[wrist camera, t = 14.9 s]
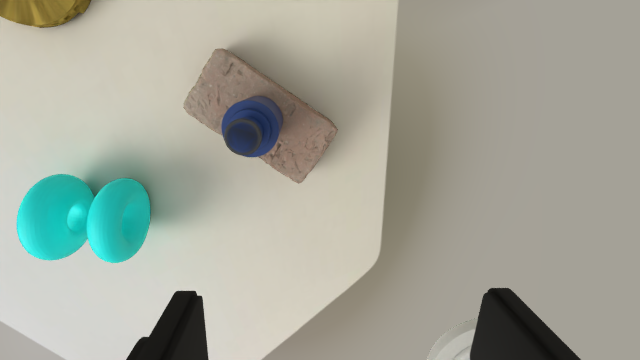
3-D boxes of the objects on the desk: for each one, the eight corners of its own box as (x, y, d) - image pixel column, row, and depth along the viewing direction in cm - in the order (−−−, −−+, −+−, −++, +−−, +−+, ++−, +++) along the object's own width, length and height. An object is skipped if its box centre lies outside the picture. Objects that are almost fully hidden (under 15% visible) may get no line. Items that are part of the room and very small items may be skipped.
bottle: (282, 96, 35) (275, 105, 24) (282, 143, 36) (276, 169, 26) (235, 95, 34) (206, 102, 24) (237, 142, 36) (211, 168, 25)
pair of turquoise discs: (70, 163, 40) (-2, 190, 31) (151, 169, 41) (106, 196, 31) (81, 233, 43) (19, 277, 34) (156, 237, 44) (117, 281, 34)
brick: (189, 105, 39) (175, 109, 34) (222, 45, 37) (212, 41, 32) (301, 175, 42) (302, 187, 38) (337, 124, 41) (342, 130, 36)
